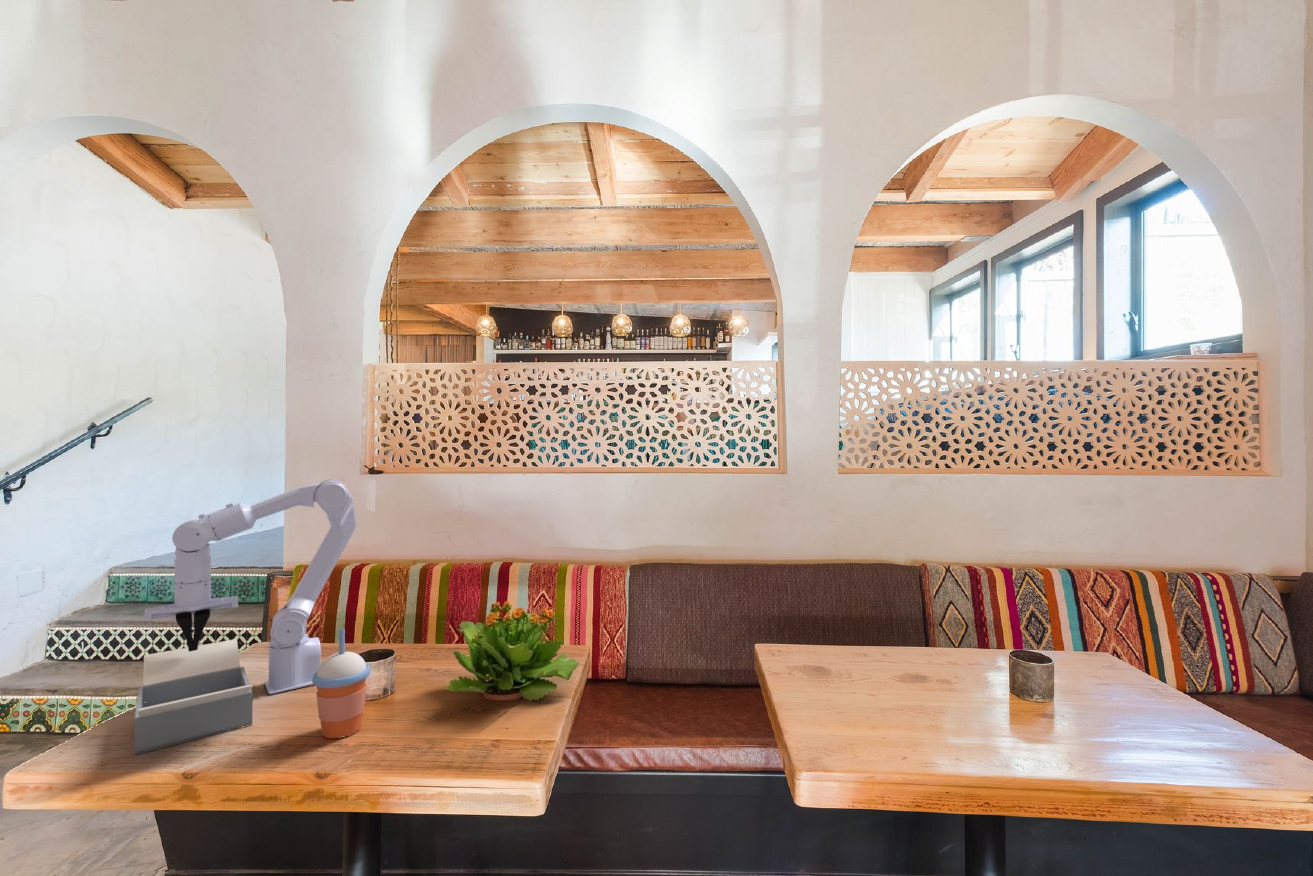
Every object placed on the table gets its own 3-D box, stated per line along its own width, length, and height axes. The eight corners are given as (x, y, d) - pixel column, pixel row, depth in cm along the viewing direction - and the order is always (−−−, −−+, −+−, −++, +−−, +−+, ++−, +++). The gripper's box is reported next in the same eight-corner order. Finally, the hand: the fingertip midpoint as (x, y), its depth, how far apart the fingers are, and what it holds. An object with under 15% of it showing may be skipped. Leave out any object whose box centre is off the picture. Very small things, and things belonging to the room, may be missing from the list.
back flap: (240, 666, 119) (239, 667, 119) (236, 639, 125) (236, 640, 125) (142, 685, 110) (142, 687, 110) (144, 655, 115) (144, 656, 115)
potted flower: (468, 733, 104) (468, 633, 104) (419, 691, 122) (419, 606, 122) (586, 693, 120) (585, 606, 121) (528, 661, 138) (528, 586, 138)
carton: (243, 696, 120) (243, 666, 120) (252, 725, 107) (252, 691, 107) (138, 720, 109) (138, 687, 110) (134, 755, 97) (134, 718, 97)
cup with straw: (310, 749, 99) (310, 640, 99) (313, 726, 107) (313, 626, 107) (371, 736, 103) (371, 632, 103) (369, 715, 111) (369, 619, 111)
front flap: (252, 684, 102) (252, 685, 101) (248, 691, 107) (248, 693, 107) (138, 709, 92) (138, 711, 92) (139, 716, 98) (139, 718, 97)
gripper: (144, 590, 110) (143, 664, 110) (239, 578, 119) (239, 646, 119) (145, 583, 115) (145, 653, 115) (236, 573, 124) (236, 637, 124)
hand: (192, 649), depth 117 cm, fingers closed
